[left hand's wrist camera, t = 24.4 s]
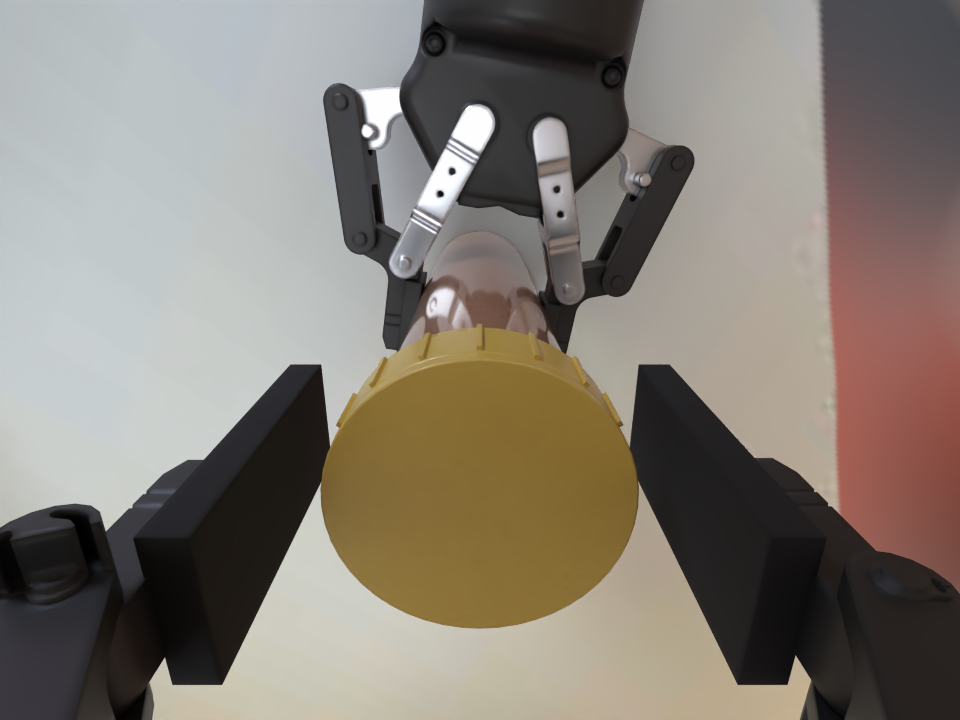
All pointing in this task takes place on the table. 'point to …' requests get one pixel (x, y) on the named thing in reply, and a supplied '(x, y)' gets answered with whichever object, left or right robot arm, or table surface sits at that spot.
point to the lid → (479, 480)
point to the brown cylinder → (479, 291)
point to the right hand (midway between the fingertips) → (471, 367)
